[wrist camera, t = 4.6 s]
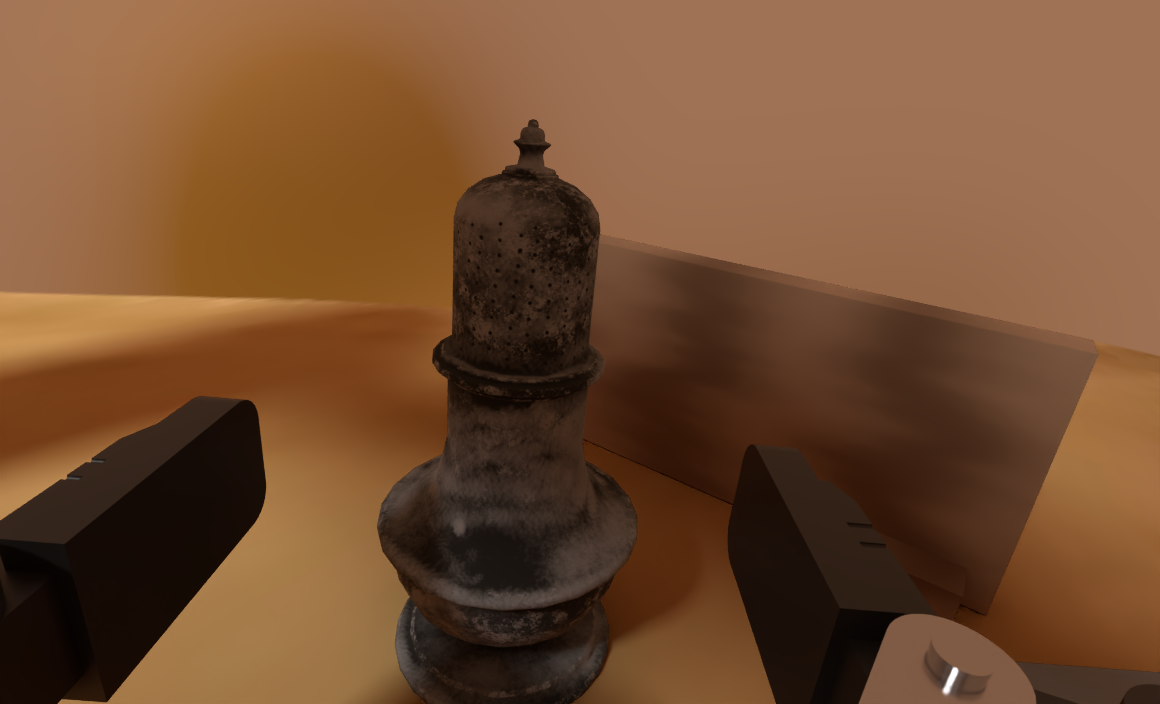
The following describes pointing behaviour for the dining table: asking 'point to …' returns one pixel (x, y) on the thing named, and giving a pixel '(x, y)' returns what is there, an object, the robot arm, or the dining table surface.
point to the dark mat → (1085, 682)
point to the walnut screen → (837, 401)
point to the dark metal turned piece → (512, 461)
